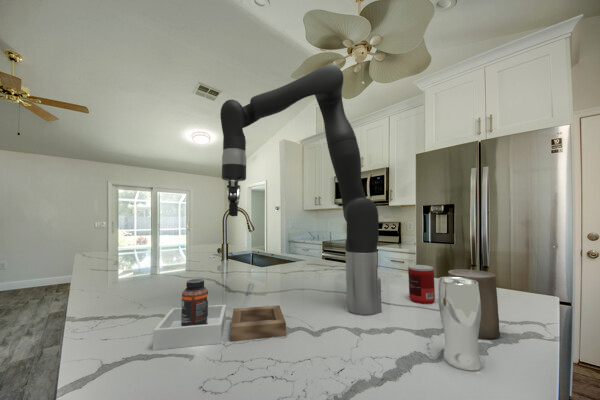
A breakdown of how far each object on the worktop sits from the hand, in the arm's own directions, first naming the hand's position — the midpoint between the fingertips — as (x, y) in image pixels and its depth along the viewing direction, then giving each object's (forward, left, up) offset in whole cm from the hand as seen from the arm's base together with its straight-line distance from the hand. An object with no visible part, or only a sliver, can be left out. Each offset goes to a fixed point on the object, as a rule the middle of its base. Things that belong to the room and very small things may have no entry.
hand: (233, 216), depth 81 cm
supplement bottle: (+8, +16, -27) cm, 33 cm away
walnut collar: (-7, +16, -28) cm, 33 cm away
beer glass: (-44, +40, -28) cm, 66 cm away
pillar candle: (-58, +29, -28) cm, 71 cm away
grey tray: (+8, +16, -28) cm, 33 cm away
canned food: (-61, +6, -28) cm, 68 cm away
